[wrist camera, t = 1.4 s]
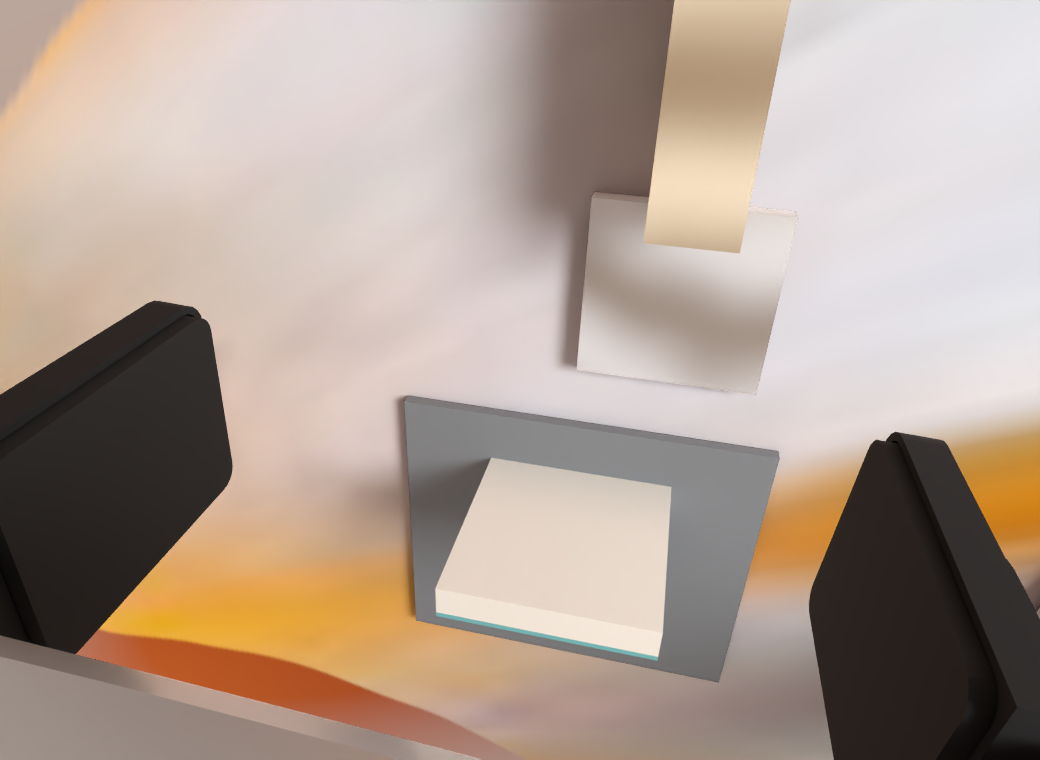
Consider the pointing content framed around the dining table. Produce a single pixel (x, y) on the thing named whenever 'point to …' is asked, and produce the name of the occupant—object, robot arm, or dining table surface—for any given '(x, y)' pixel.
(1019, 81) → the dining table surface
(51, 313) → the dining table surface
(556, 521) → the tile
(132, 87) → the dining table surface
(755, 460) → the mat
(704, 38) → the turner
